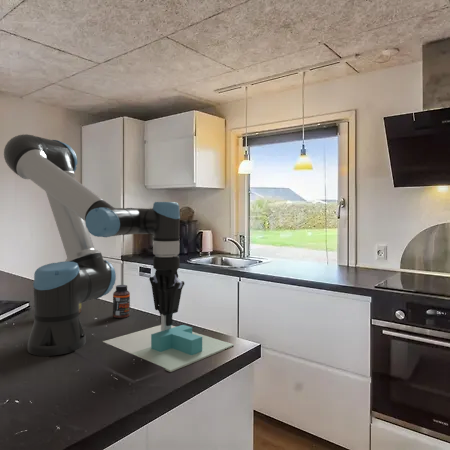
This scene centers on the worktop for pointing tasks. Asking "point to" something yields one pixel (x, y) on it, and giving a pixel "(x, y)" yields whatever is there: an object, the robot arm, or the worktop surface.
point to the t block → (177, 340)
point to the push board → (169, 358)
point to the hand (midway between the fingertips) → (166, 335)
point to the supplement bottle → (121, 302)
